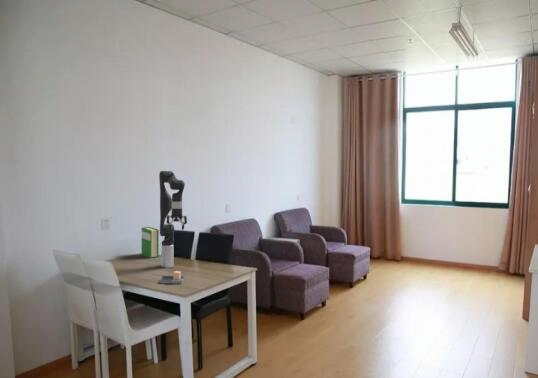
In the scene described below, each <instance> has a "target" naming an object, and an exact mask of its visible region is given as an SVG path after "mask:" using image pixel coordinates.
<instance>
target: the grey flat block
mask: <svg viewBox="0 0 538 378" xmlns="http://www.w3.org/2000/svg"><path fill="white" fill-rule="evenodd" d="M158 282H159V283H158V284H166V285H167V284H168V285H169V284H171V285H172V284H174V285H182V284H183V282H185V276H184V275H181V280H173V275H162V277H161V278H160V279H159V281H158Z"/></svg>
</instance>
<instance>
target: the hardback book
mask: <svg viewBox="0 0 538 378" xmlns="http://www.w3.org/2000/svg"><path fill="white" fill-rule="evenodd" d="M159 235H160V229H158V228H154V227H151V226H147V227H146V226H144V227H141V256H144V257H146V258H148V257H149V259H152V258H159V251H160V250H159V249H160V248H159V238H160V237H159Z"/></svg>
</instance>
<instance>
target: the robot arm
mask: <svg viewBox="0 0 538 378" xmlns="http://www.w3.org/2000/svg"><path fill="white" fill-rule="evenodd" d="M158 177H159V180H158V181H159V211H160V212H159V213H160V215H159V217H160V219H159V235H160V237H167V238H166V239H163V240H162V241H161V268H165V269H166V268H172V267H174V265H175V264H174V260H175V259H174V258H175V256H174V254H175V252H174V247H175V246H174V245H175V244H174V243H175V226H174V224H173V222H178V223H181V231H184V229H185V225H187V224H188V218H187V217H188V216H187V215H183V192H184V189H185V186H186V184H185V181H184V180H183V179H180V180H179V178H176V175H175V173H174V172H173V171H171V170H170V171H169V170H161V171H159V175H158ZM165 183H167V184H168V186H169V188H170V190H172V191H177V192H175V193H172V195H170V193H169V192H168V191H167V188H166V185H165ZM170 213H171V215H169V214H170ZM170 219H171V220H170ZM183 220H184V221H183ZM165 221H166V224H165Z"/></svg>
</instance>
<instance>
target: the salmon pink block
mask: <svg viewBox="0 0 538 378" xmlns="http://www.w3.org/2000/svg"><path fill="white" fill-rule="evenodd" d="M181 272H182V271H177V270H174V271H173V275H172V276H173V280H181V276H182V275H181V274H182V273H181Z"/></svg>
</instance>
